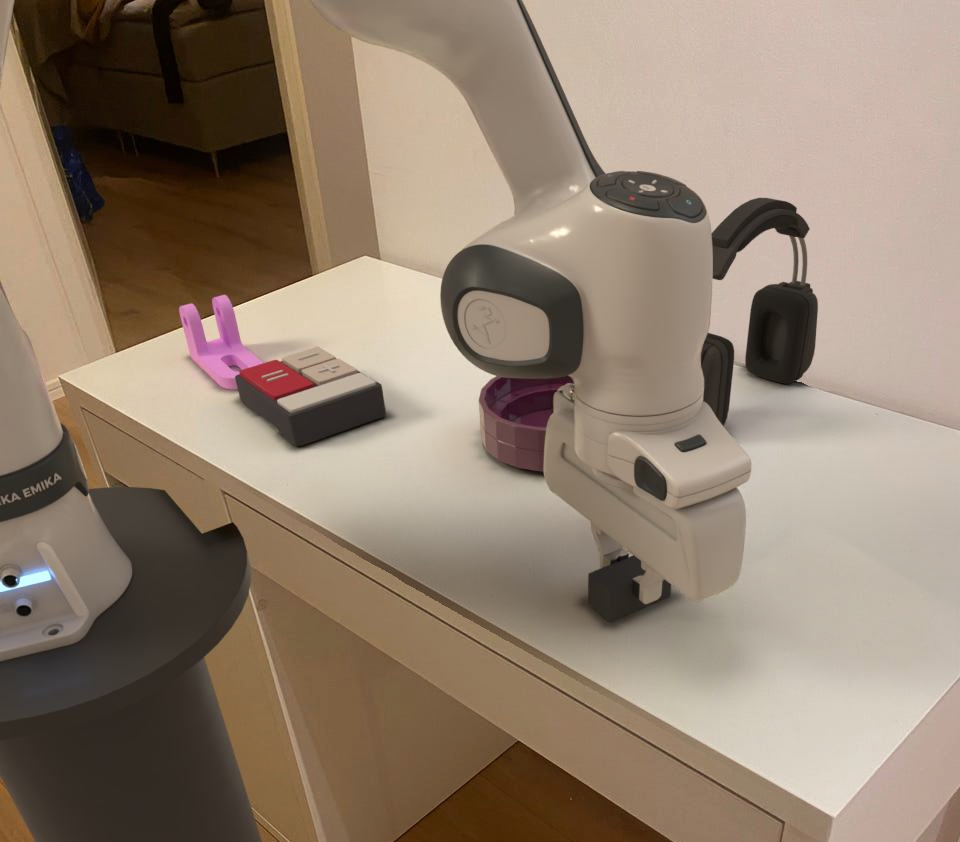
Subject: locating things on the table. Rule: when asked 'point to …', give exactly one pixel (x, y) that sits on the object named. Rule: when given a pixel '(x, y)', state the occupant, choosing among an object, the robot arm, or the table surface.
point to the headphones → (762, 306)
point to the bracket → (217, 343)
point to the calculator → (310, 395)
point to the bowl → (517, 418)
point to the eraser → (618, 589)
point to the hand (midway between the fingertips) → (629, 584)
